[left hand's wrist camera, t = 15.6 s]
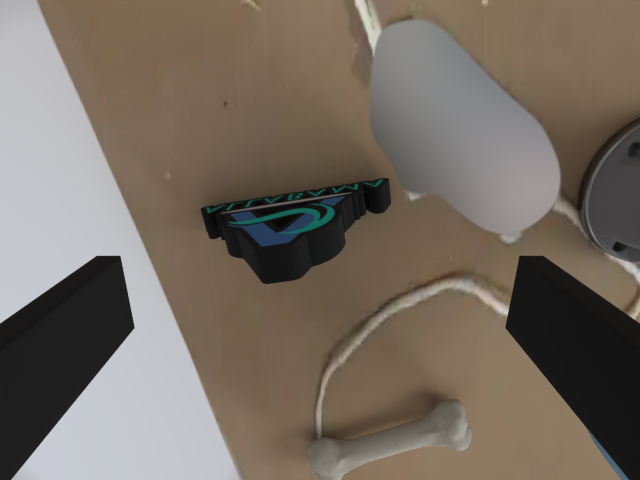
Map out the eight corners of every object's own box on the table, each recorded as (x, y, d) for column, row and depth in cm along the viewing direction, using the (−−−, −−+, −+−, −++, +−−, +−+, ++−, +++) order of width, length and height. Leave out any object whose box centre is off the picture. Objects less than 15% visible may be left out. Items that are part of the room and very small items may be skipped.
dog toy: (321, 464, 51) (321, 501, 46) (304, 433, 49) (302, 468, 45) (467, 421, 48) (483, 455, 44) (454, 386, 47) (470, 418, 42)
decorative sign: (208, 229, 39) (147, 301, 25) (202, 207, 39) (135, 268, 25) (389, 201, 38) (430, 260, 24) (387, 177, 38) (427, 224, 24)
